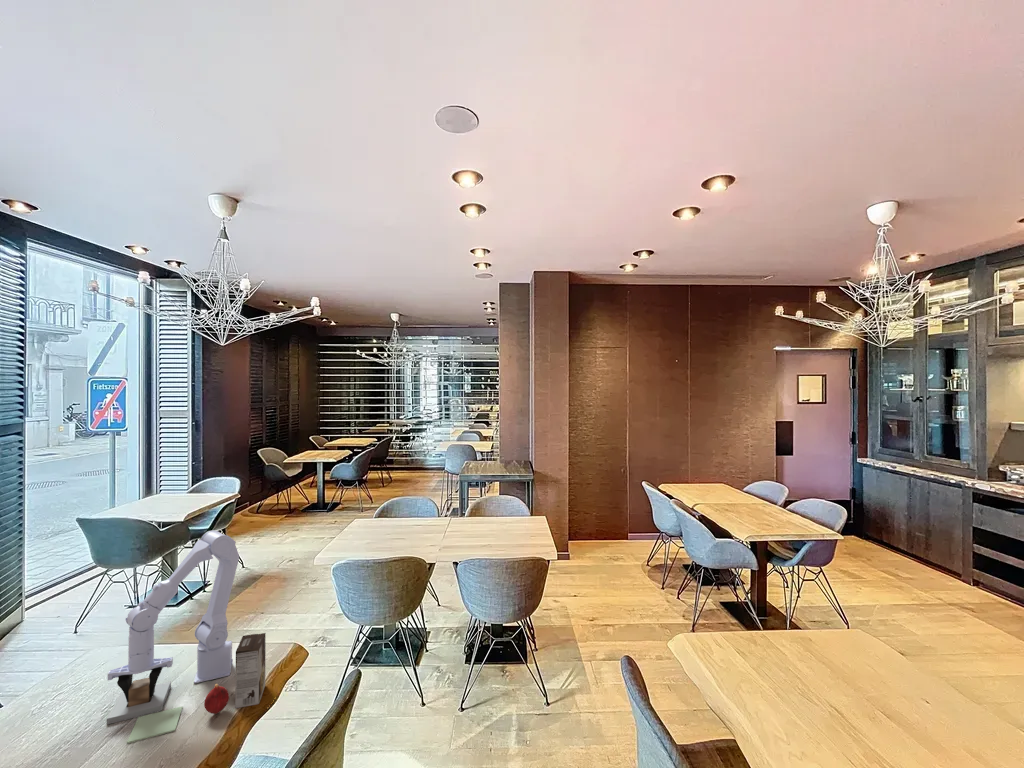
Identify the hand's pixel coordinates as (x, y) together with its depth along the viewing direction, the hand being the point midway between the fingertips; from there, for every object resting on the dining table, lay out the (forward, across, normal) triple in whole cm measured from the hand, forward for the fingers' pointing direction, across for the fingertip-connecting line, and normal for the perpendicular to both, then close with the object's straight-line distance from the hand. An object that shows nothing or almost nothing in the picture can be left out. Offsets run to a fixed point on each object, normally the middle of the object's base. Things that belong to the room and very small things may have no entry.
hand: (140, 697), depth 132 cm
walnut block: (+2, 0, 0) cm, 2 cm away
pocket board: (+2, 0, 0) cm, 2 cm away
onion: (+2, -20, +14) cm, 25 cm away
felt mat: (+2, -6, +12) cm, 14 cm away
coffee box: (+2, -28, +10) cm, 30 cm away
